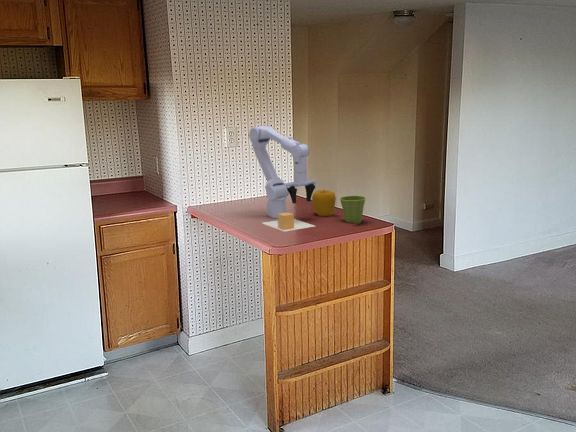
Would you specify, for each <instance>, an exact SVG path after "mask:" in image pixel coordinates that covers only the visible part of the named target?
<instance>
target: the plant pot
mask: <svg viewBox="0 0 576 432" xmlns="http://www.w3.org/2000/svg"><path fill="white" fill-rule="evenodd" d="M366 199H367V197H366V196H364V195H345V196H341V197H339V201H340V204H341V207H342V213H343V218H344V221H345V222H347V223H352V224H356V225H359V224H361V222H362V219H363V213H364V206H365V203H366Z"/></svg>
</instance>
